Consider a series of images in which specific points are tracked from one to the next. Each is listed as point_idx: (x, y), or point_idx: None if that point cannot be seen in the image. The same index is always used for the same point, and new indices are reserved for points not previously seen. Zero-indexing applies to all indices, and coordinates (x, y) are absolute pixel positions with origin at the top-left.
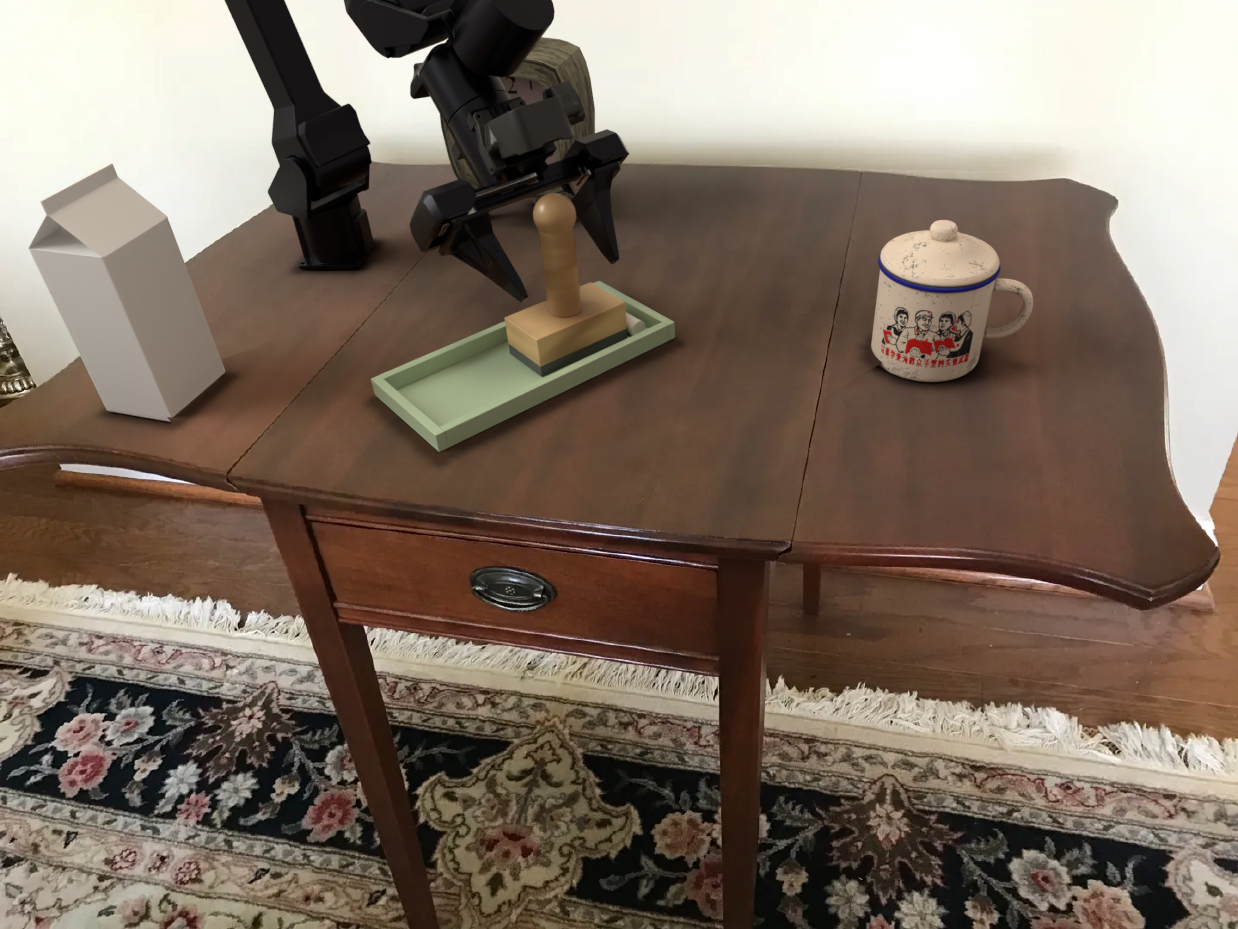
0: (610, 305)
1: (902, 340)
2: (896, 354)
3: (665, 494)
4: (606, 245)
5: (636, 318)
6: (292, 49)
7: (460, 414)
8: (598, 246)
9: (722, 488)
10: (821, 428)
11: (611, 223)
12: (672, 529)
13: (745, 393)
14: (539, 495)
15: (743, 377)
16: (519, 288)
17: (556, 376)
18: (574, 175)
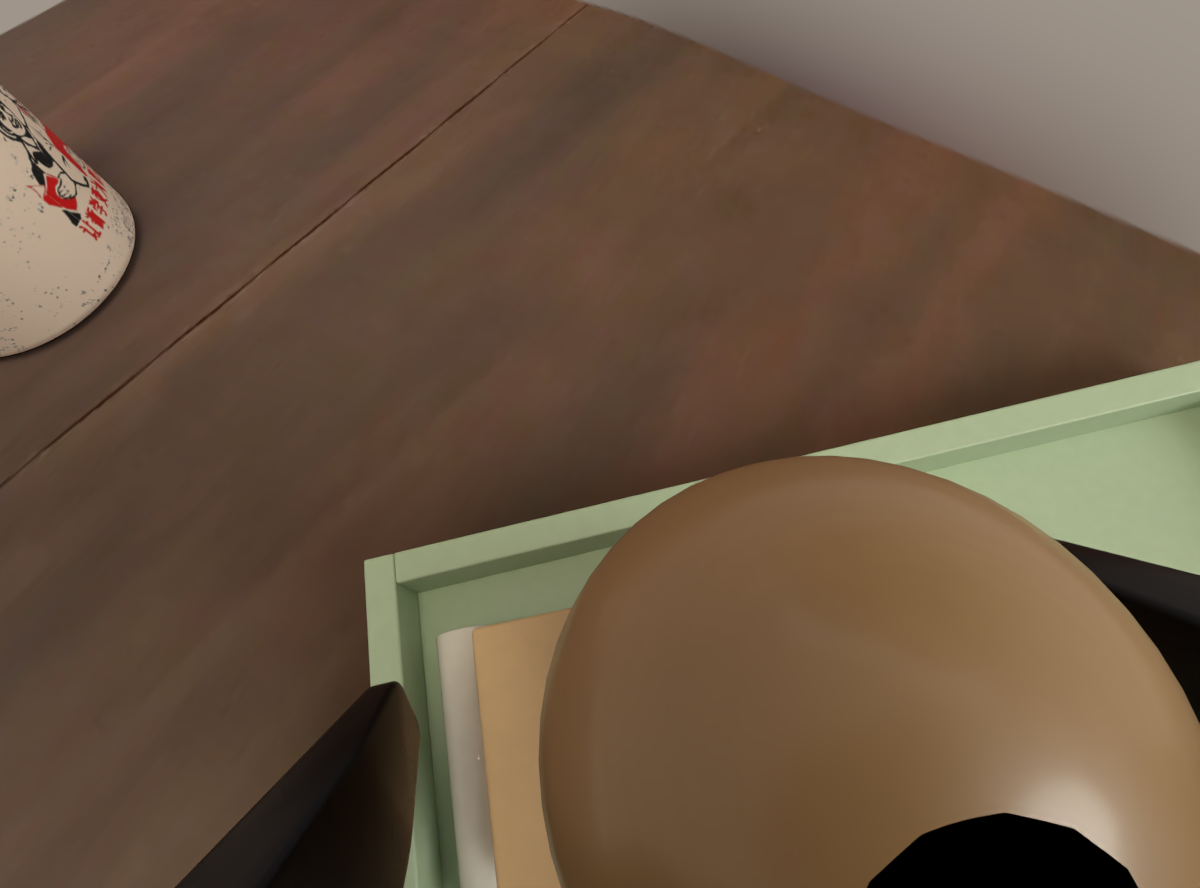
0: (534, 634)
1: (60, 159)
2: (95, 197)
3: (715, 126)
4: (378, 774)
5: (449, 656)
6: None
7: (1152, 505)
8: (397, 886)
9: (616, 108)
10: (367, 170)
11: (218, 861)
12: (742, 62)
13: (402, 310)
14: (955, 198)
15: (363, 362)
16: (1070, 547)
17: (838, 452)
18: None
